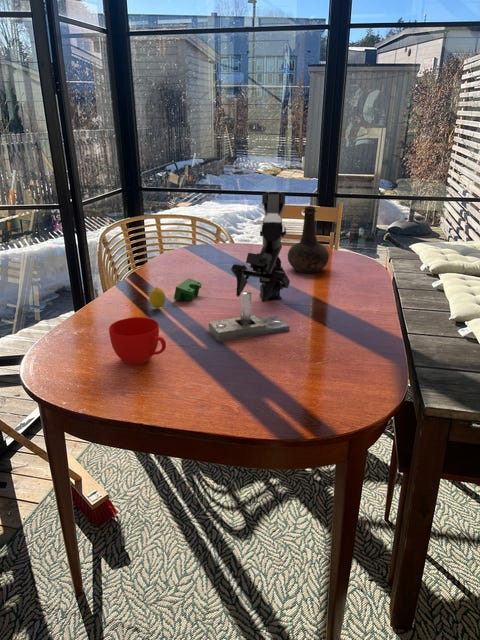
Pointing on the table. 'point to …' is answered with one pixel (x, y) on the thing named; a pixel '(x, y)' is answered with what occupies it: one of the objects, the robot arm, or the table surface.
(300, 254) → the glass bottle
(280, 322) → the plate
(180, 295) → the clamp
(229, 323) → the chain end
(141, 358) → the ceramic cup
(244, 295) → the steel pin
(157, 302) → the lemon
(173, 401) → the table surface
